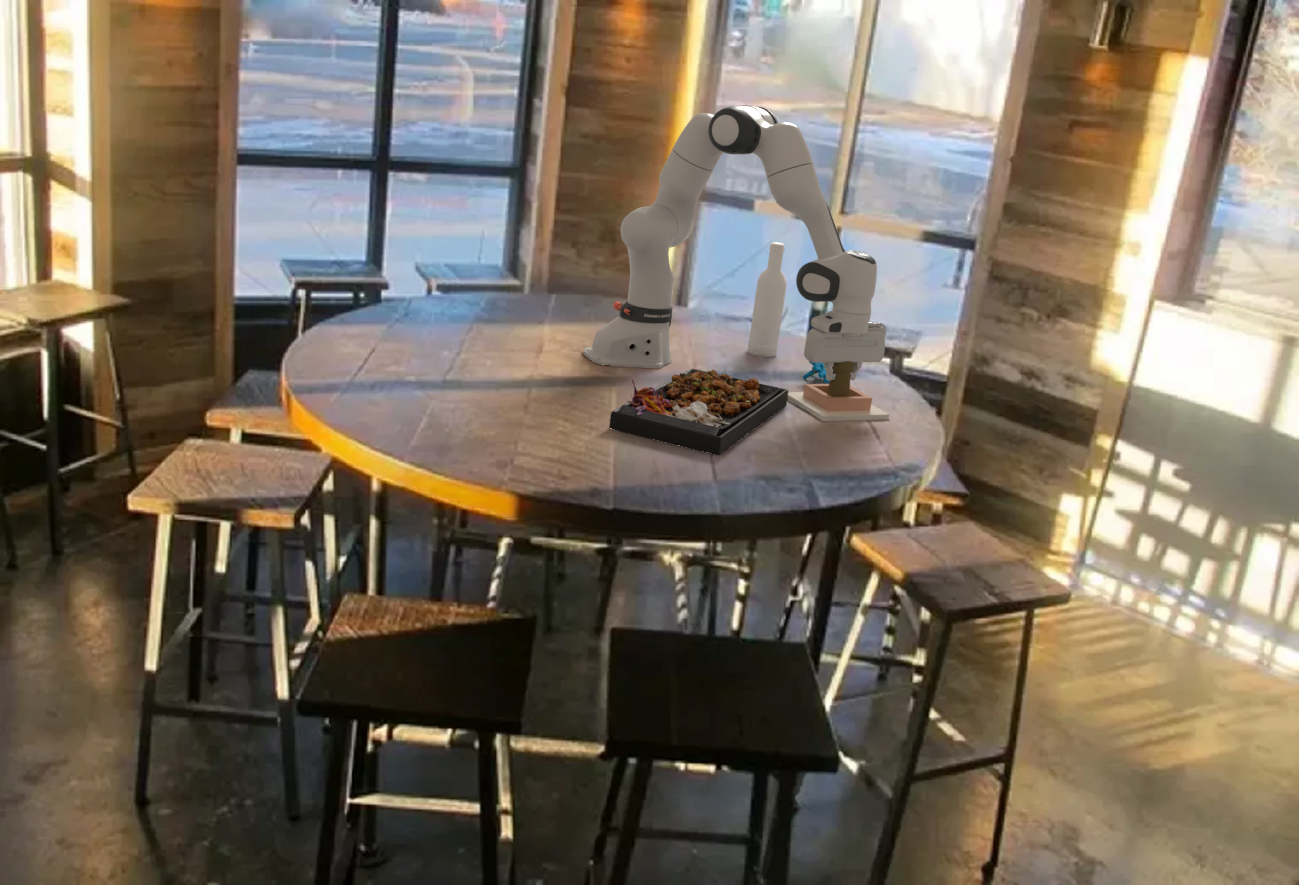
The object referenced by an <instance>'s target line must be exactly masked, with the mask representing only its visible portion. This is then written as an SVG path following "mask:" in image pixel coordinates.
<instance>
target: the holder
mask: <svg viewBox="0 0 1299 885" xmlns="http://www.w3.org/2000/svg"><path fill="white" fill-rule="evenodd" d="M828 386H829V384H828V383H805V384H804V387H803V391H797V392H795V391H793V392H792V391H791V392H789V391H788V398H787V401H789V402H791V403H792V404H794V405H796V406H797V405H798V406H797V407H798V408H800V409H802V410H803V411H805V410H806V411H805V412H807V411H808V412H809V414H810V415H812V416H813V417H815V418H816V419H818V420H820V421H821V422H842V421H843V422H845V421H847V422H848V421H851V422H852V421H875V420H879V421H880V420H889V419H890V415H891V414H890V413H889V412H886V411H884V410H883V409H881V408H879V407H877V406H875V405H874V404H872V402H873V397H871V396H870V395H868V394H866V393H864V392H862V391H860V390H858V389H857V388H855V387H853V386H851V385H850V397H832V396H830V395H828V394H827V393H826V392H827V389H828ZM808 412H807V413H808Z"/></svg>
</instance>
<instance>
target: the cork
mask: <svg viewBox="0 0 1299 885" xmlns="http://www.w3.org/2000/svg"><path fill="white" fill-rule="evenodd" d="M831 368H832V372H833V373H835V374H836V376H835V380H834V381H830V382H829V386H828V389H827V392H826V393H827V394H828V395H830V396H832V397H850V386H851V380H850V373H851V372H852V371H853V369H854V363H853V362H851V361H845V362H837V363H834V365H833V367H831Z"/></svg>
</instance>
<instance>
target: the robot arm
mask: <svg viewBox="0 0 1299 885" xmlns="http://www.w3.org/2000/svg"><path fill="white" fill-rule="evenodd" d="M724 153H725V154H728V155H741V156H742V155H743V156H744V155H751V154H754V155H755V156H757V157H759V159H760V161H761V163H762V165H763V169H764V172H765V176H766V180H767V183H768V187H769V190H770V192H771V195H772V197H773V199H774V200H775V203H776V204H777V205H778V206H779V207H780V208H782V209H784V210H785V211H787V212H789V213H790V214H791V213H792V214H793V215H794V216H796V217H797V218H799V219H800V220H801V221H802V222H803V224H804V225H805V227H806V228H807V231H808V234H809V236H810V239H811V242H812V245H813V247H814V251H815V253H816V256H817V259H815V260H811V261H809V262H807V263H804V264H803V265H802V266H801V267H800V268H799V269H798V271H797V275H796V280H795V281H796V282H795V283H796V288H797V291H798V293H799V294H800V295H801V297H802V298H804V299H805V300H806V301H809V302H816V303H821V302H823V303H824V302H825V303H826V302H830V303H831V304H832V309H831V311H828V312H825V313H823V314H819V315H817V316H814V317H813V318H811V320H810V326H811V327H813V328H811V329H810V330H809V331H808V333H807V336H806V339H805V345H804V350H803V356H804V358H805V359H806V360H807V361H808V362H809V361H810V362H812V363H824V367H825V370H826V372H827V373H826V379H827V380H828V381H834V380H835V376H836V374H835V373H833V370H832V367H833V365H834V363H837V362H845V361H851V362H853V363H854V369H853V371H852V372H851V373H850V381H856V376H857V374H858V372H859V371H860V369H861V368H862V367H863V363H880V362H881V361H883V359H884V358H885V357H884V356H885V349H886V347H885V346H886V335H887V327H886V326H885V325H884V324H883V323H882V322H870V321H871V316H872V300H873V297H874V295H875V291H876V285H877V273H878V271H877V270H878V266H877V262H876V260H875V258H873V257H872V256H871V255H870V254H868V253H866V252H863V251H860V250H855V249H849V250H845V248H844V246H843V243H842V241H841V238H840V235H839V232H838V229H837V226H836V224H835V221H834V219H833V215H832V212H831V210H830V208H829V205H828V203H827V201H826V198H825V196H824V193H823V191H822V188H821V185H820V182H819V179H818V175H817V172H816V168H815V165H814V161H813V158H812V155H811V153H810V149H809V147H808V144H807V143H806V140H805V138H804V136H803V134H802V131H801V130H800V128H799V127H798V126H797V125H796V124H794V123H792V122H779V121H778V120H777V117H776V115H775V114H774V113H773V112H772V111H770V110H769V109H767V108H765V107H762V106H754V105H747V104H744V105H743V104H742V105H738V106H737V105H736V106H735V105H734V106H733V105H731V106H730V105H729V106H726V107H724V108H722V109H720V110H718V111H717V112H716V113H715V114H713V113H707V112H700V113H696V114H695V115H694V116H693V117H692V118H691V119H690V120H689V121H688V123H687V124H686V126H685V127H684V128H683V130H682V131H681V133H680V135H679V136H678V138H677V140H676V141H675V143H674V145H673V147H672V149H671V151H670V153H669V155H668V157H667V159H666V161H665V162H664V165H663V167H662V169H661V171H660V173H659V175H658V180H659V187H658V191H657V195H656V198H655V200H654V202H653V203H652V204H651V205H646V206H641V207H638V208H636V209H634V210H632V211H631V212H629V213H628V214H627V215H625V217H624V218H623V220H622V222H621V225H620V229H619V230H620V237H621V240H622V242H623V243H624V245H625V246H626V250H627V254H628V261H629V262H628V263H629V282H628V284H629V285H628V293H627V294H628V295H627V301H626V300H625V301H626V302H624V303H622V302H620V301H614V303H613V305H612V306H613V308H614V310H616V311H617V312H618V311H619V315H618V316H617V317H615V318H614V319H612V320H611V321H610V322H608V323H607V324H605V325H604V326H602V327H600V328H599V329H598V330H597V331H596V333H595V336H594V338H593V341H592V345H591V347H590V346H588V347H585V348H583V350H582V351H583V352H582V354H583V353H584V354H583V356H584V355H585V356H586V357H587V358H586V357H585V356H584V357H585V358H586V359H588V358H589V359H590V360H589V359H588V360H589V361H591V360H592V361H591V362H593V361H594V362H593V363H595V364H598V365H600V364H603V365H602V366H604V365H612V366H611V367H621V366H622V368H623V367H624V368H647V369H662V368H663V366H665V365H668V364H670V363H671V362H672V357H671V350H670V327H671V324H672V319H673V318H672V317H673V306H672V300H673V293H674V284H675V273H674V272H673V271H672V269H671V265H670V264H671V263H670V256H669V252H670V251H669V250H670V248H674V247H677V246H680V245H681V244H682V243H684V242H685V241H686V240H688V239H689V238H690V236H691V235H692V233H693V232H694V224H695V221H694V217H695V214H696V208H697V206H698V202H699V200H700V197H701V194H703V191H704V189H705V187H706V185H707V182H708V181H709V180H710V177H711V176H712V173H713V171H714V170H715V168H716V166H717V163H718V161H719V159H720V158H721V156H722V155H723V154H724Z"/></svg>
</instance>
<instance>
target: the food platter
mask: <svg viewBox="0 0 1299 885" xmlns="http://www.w3.org/2000/svg"><path fill="white" fill-rule="evenodd" d="M631 382H632V384H633V390H634V391H633V395H632V394H630V396H631V401H630V400H627V401H626V402H627V403H625V404H622V405H621V406H620V407H618V408H616V409H614V410H611V412H610V419H609V428H612V429H615V430H617V431H616V432H619V431H620V432H621V433H625V434H628V433H629V434H628V435H632V436H635V437H636V436H637V437H641V438H645V439H649V440H652V439H655V440H654V441H656V440H659V441H658V442H660V441H662V442H661V443H664V442H667V443H666V444H668V443H670V444H669V445H672V444H674V445H673V446H676V445H680V446H679V447H681V446H683V447H682V448H685V447H687V448H686V449H689V448H690V450H693V449H695V450H694V451H697V450H698V451H697V452H701V451H704V452H703V453H705V452H709V453H712V454H711V455H713V454H716V455H715V456H717V455H719V456H721V455H722V454H723V453H724V452H723V451H725V452H726V451H727V450H729V449H730V448H731V447H733V446H734V445H735V444H737V443H738V442H739V441H741V440H742V439H743V438H745V437H746V436H747V435H748V434H747V433H749V434H750V433H751V432H753V431H754V430H755V429H754V428H756V427H757V428H758V427H759V425H760V424H761V423H762V424H764V423H765V422H767V421H768V420H769V419H770V418H772V417H774V415H775V413H776V414H777V413H778V412H780V411H781V410H782V409H784V408H785V407H786V406H787V403H788V400H787V398H788V392H789V389H787V388H782V387H779V386H778V387H777V386H774V385H769V384H764V383H760V382H759V381H758V379H757V378H755V377H753V378H749V379H747V380H746V379H741V378H736V377H732V376H731V375H730V374H727V373H724V374H723V373H721V374H718V372H717V370H715V369H712V370H707V371H705V370H699V369H695V368H691V369H688V370H685V372H682V373H681V372H680V373H679V374H673V375H671V379H670V380H668V381H665V382H664V383H662V384H661V385H658V386H657V387H655V388H654V387H653V386H644V387H642V388H641V389H639V390H637V388H636V385H635V382H634V379H632V378H631ZM779 410H780V411H779ZM771 416H772V417H771ZM768 418H769V419H768ZM767 419H768V420H767ZM763 422H764V423H763ZM762 424H761V425H762ZM761 425H760V426H761ZM609 428H608V429H609ZM757 428H756V429H757ZM753 429H754V430H753ZM615 430H614V431H615ZM752 430H753V431H752ZM620 432H619V433H620ZM746 434H747V435H746ZM745 435H746V436H745ZM744 436H745V437H744ZM741 438H742V439H741ZM740 439H741V440H740ZM738 440H739V441H738ZM737 441H738V442H737ZM736 442H737V443H736ZM732 445H733V446H732ZM730 446H731V447H730ZM729 447H730V448H729ZM728 448H729V449H728ZM722 452H723V453H722ZM709 453H708V454H709ZM721 453H722V454H721ZM720 454H721V455H720Z"/></svg>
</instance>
